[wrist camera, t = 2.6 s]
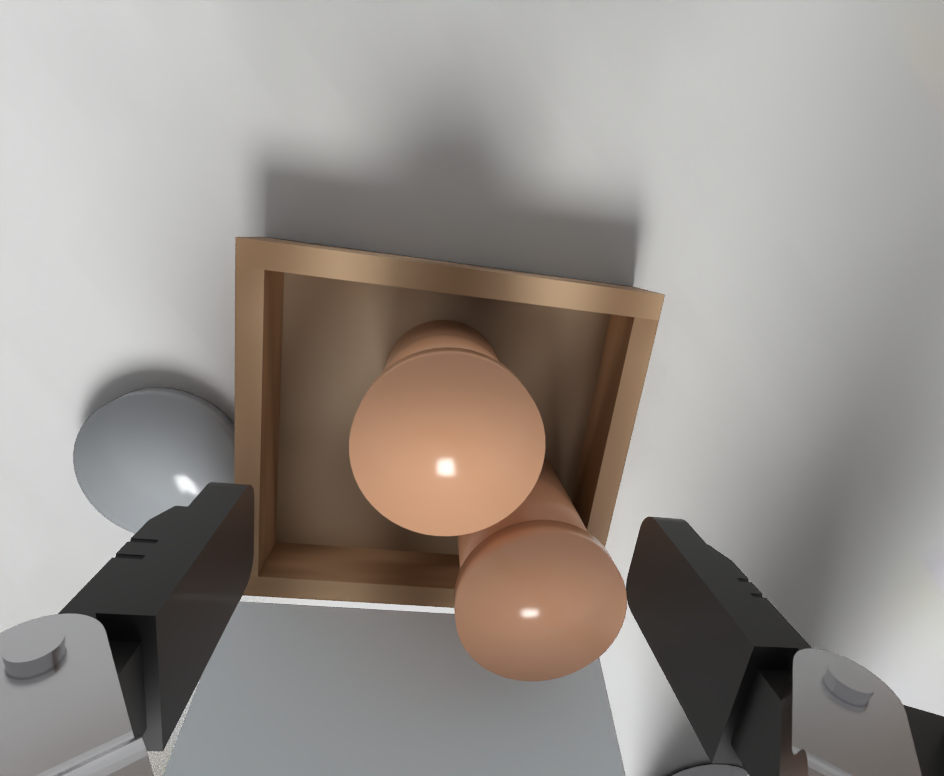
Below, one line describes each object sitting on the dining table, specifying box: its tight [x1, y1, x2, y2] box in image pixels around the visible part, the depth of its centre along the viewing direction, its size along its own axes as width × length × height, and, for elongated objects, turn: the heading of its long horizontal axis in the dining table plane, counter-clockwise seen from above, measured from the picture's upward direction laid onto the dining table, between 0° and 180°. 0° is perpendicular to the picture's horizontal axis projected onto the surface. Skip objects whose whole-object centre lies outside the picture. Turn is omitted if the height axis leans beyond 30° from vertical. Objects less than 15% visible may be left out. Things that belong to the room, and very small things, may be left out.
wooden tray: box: [234, 237, 665, 608], centre depth 22 cm, size 16×15×3 cm
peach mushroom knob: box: [349, 320, 545, 536], centre depth 19 cm, size 6×6×8 cm
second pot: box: [454, 457, 627, 681], centre depth 21 cm, size 6×6×8 cm
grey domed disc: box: [73, 388, 235, 533], centre depth 23 cm, size 7×7×1 cm
